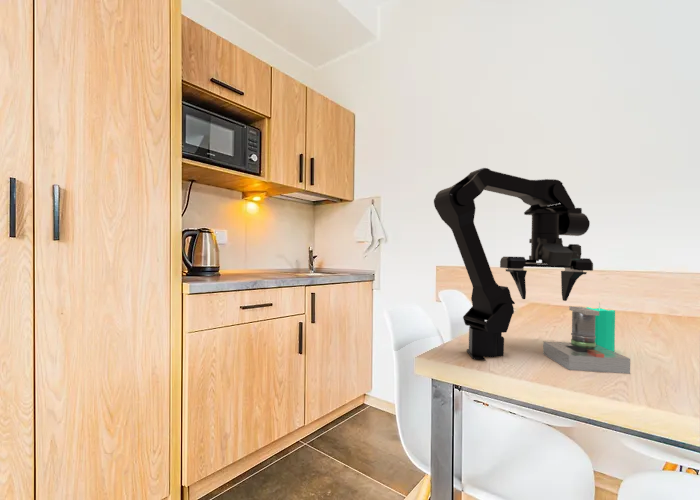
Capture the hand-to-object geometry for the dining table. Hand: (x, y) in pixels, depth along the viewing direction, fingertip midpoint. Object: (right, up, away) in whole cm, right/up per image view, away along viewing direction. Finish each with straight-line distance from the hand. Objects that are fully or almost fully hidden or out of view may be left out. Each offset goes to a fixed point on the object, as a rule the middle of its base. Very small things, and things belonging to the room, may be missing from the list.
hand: (544, 299), depth 80 cm
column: (+3, -8, -10) cm, 13 cm away
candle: (+14, -13, +1) cm, 19 cm away
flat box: (+3, -12, -10) cm, 16 cm away
